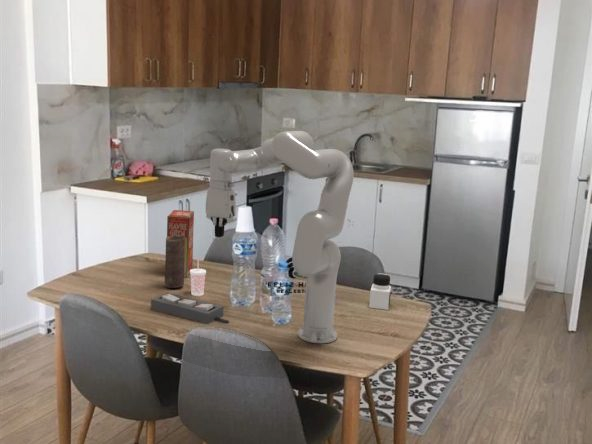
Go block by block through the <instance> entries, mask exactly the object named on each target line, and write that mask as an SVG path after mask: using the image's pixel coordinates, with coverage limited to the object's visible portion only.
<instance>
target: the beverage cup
mask: <svg viewBox="0 0 592 444" xmlns="http://www.w3.org/2000/svg"><path fill="white" fill-rule="evenodd" d="M196 263H197V266H196V267H197V268H193V269H191V270H190V274H189V276H190V291H191V295H192V296H195V297H200V296H204V292H205V281H206V274H207V270H206V269H204V268H200V267H199V266H200V264H199V263H200V257H197V262H196Z"/></svg>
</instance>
